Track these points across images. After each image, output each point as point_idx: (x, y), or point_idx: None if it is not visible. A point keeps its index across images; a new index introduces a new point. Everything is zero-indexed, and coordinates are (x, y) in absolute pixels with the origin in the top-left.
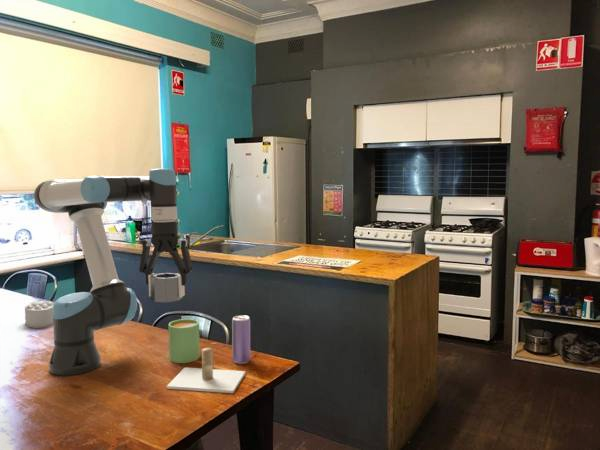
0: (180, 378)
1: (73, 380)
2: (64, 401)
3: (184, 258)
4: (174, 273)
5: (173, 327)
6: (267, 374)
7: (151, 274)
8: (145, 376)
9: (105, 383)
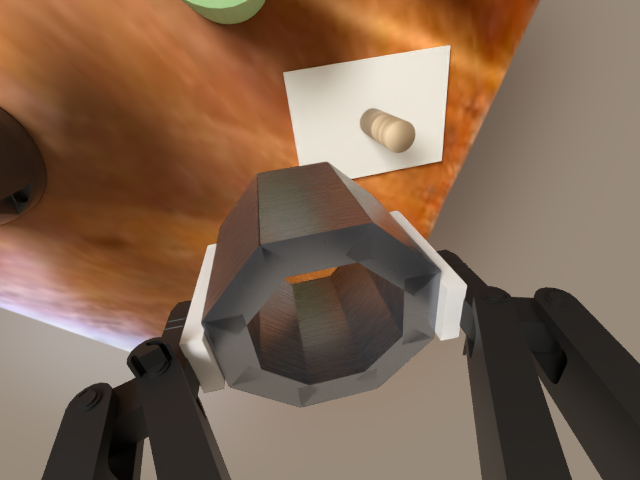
0: (311, 144)
1: (69, 224)
2: (157, 290)
3: (614, 470)
4: (346, 242)
5: (200, 5)
6: (500, 30)
7: (215, 377)
8: (213, 147)
9: (156, 210)
